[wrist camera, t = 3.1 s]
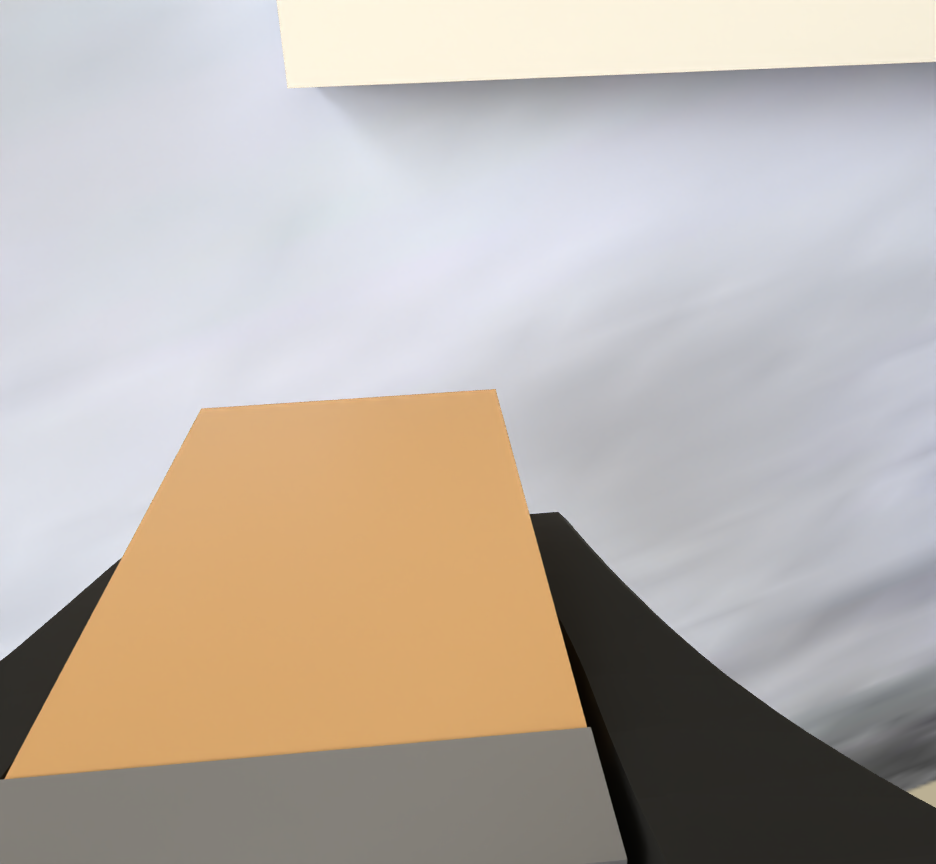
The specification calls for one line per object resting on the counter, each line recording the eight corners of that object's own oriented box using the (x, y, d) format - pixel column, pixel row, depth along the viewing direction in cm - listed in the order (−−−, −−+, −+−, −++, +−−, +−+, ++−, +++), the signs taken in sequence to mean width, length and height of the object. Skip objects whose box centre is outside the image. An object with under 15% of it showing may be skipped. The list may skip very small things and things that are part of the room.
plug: (497, 387, 11) (625, 859, 5) (502, 618, 13) (601, 1179, 6) (199, 407, 11) (-82, 929, 4) (248, 638, 13) (97, 1240, 6)
